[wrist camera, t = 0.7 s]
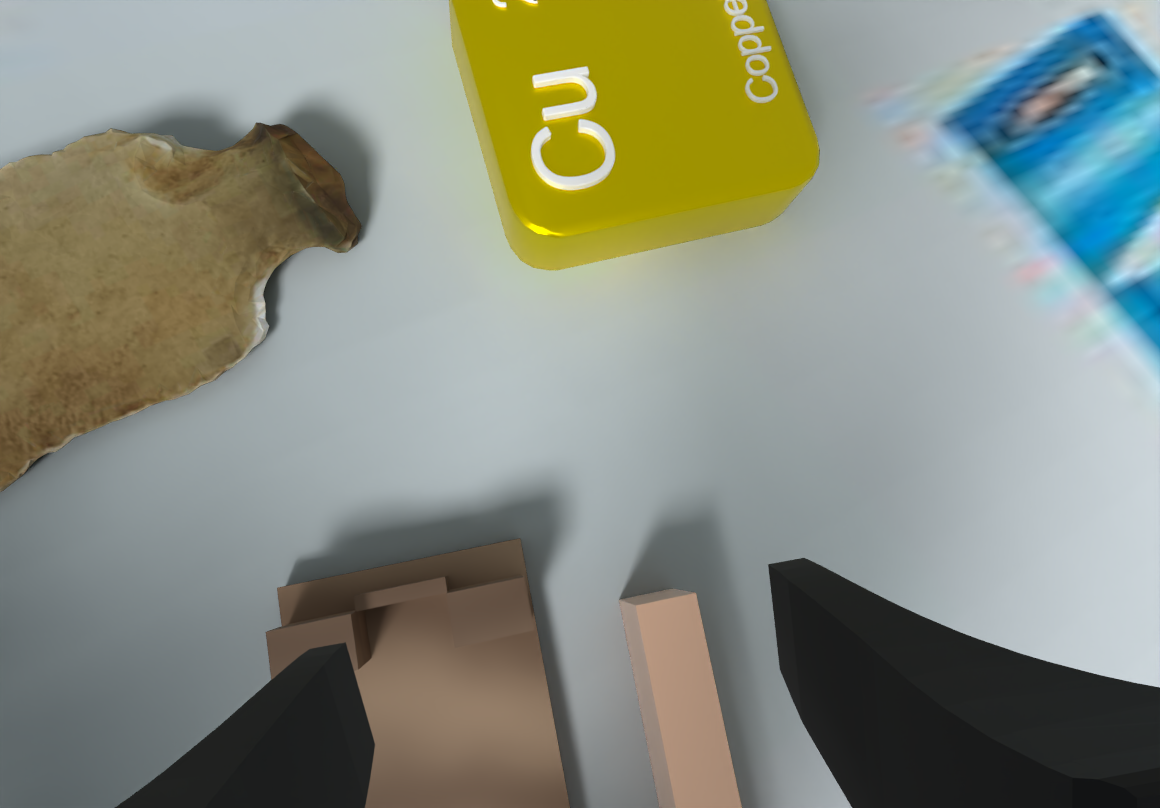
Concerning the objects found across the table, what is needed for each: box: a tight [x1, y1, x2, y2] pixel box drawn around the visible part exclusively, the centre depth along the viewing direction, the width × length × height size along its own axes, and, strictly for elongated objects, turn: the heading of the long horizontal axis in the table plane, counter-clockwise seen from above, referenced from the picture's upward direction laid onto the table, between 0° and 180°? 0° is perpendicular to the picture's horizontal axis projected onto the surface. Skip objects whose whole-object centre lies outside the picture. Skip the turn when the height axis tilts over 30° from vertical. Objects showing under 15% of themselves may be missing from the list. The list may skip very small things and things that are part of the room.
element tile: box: [449, 0, 820, 270], centre depth 35 cm, size 15×15×5 cm
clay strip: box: [619, 588, 742, 808], centre depth 29 cm, size 16×2×4 cm, turn 11°
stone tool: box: [0, 123, 362, 492], centre depth 30 cm, size 12×4×25 cm
